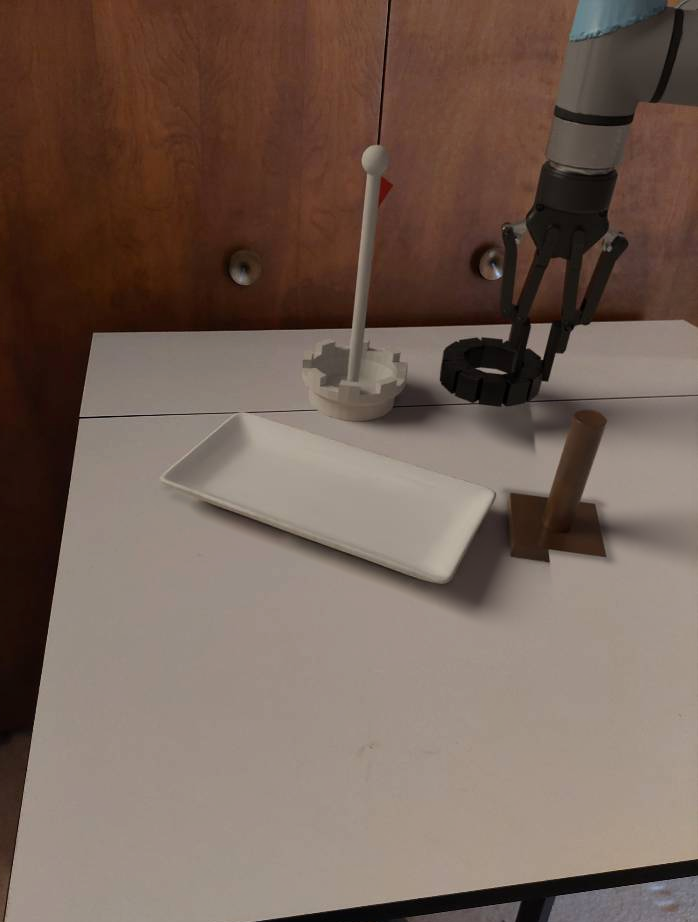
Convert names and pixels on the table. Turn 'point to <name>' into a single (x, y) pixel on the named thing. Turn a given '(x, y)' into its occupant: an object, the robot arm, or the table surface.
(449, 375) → the ring
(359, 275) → the flag stand
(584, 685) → the table surface
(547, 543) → the post
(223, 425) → the tray
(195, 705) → the table surface
